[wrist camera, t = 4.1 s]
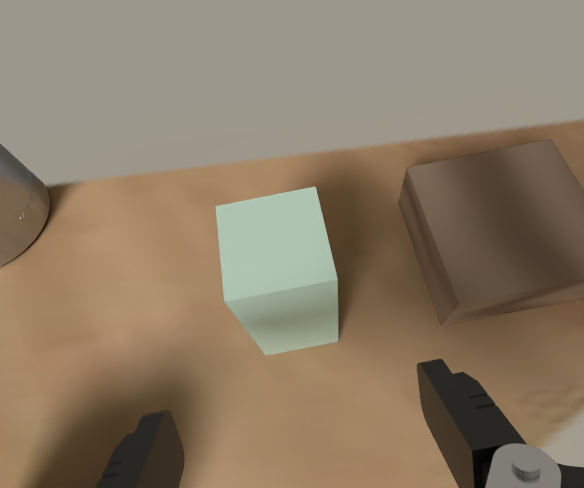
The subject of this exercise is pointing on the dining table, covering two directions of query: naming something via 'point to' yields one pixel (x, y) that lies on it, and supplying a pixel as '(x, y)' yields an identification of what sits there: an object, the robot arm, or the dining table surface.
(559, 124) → the dining table surface
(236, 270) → the sage block
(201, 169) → the dining table surface
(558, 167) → the walnut plinth
